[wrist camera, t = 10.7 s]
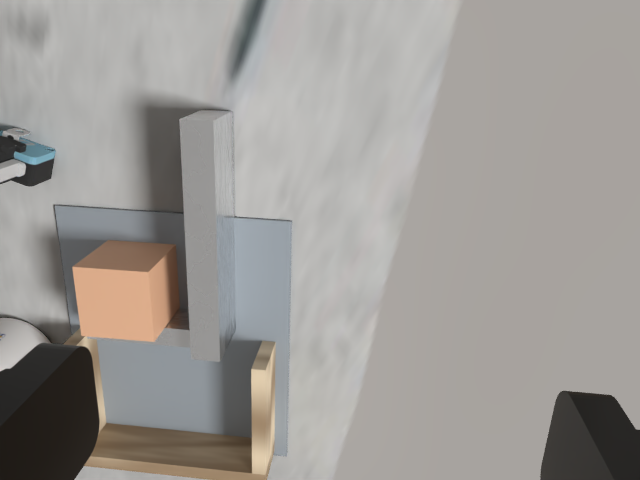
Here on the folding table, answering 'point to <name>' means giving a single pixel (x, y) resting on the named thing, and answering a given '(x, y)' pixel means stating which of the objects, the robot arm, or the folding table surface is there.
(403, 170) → the folding table surface
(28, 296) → the folding table surface
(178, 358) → the mat
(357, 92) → the folding table surface
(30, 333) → the bath foam
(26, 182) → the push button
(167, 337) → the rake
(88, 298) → the block
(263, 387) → the stall
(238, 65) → the folding table surface
